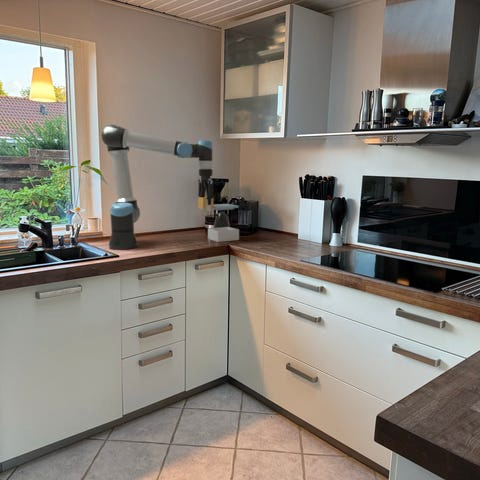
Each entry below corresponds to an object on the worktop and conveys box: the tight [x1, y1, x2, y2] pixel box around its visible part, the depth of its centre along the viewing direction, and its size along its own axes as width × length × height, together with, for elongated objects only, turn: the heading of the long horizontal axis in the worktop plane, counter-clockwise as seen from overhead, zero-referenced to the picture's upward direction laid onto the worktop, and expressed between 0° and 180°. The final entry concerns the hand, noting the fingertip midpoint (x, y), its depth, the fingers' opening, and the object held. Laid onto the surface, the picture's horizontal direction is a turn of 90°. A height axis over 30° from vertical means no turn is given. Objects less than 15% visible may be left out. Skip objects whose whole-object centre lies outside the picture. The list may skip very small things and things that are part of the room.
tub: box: [207, 227, 240, 243], centre depth 256 cm, size 14×12×7 cm
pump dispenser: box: [213, 211, 231, 228], centre depth 273 cm, size 10×10×15 cm
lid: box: [197, 196, 239, 211], centre depth 251 cm, size 21×13×7 cm, turn 123°
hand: (205, 210), depth 248 cm, fingers closed on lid, 6 cm apart
